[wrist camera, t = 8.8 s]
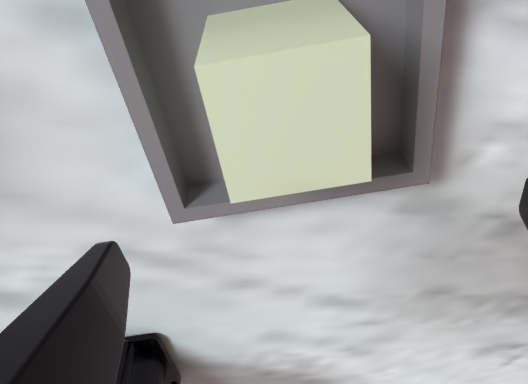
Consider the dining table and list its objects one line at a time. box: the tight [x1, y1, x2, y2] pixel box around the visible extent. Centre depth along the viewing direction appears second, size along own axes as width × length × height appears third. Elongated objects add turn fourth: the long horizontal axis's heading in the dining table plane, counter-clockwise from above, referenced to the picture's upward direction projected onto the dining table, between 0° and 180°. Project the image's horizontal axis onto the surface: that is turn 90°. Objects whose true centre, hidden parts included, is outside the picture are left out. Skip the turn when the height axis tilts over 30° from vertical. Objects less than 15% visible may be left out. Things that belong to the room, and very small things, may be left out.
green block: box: [194, 0, 371, 204], centre depth 15 cm, size 5×5×6 cm
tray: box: [85, 0, 446, 224], centre depth 17 cm, size 13×13×2 cm
